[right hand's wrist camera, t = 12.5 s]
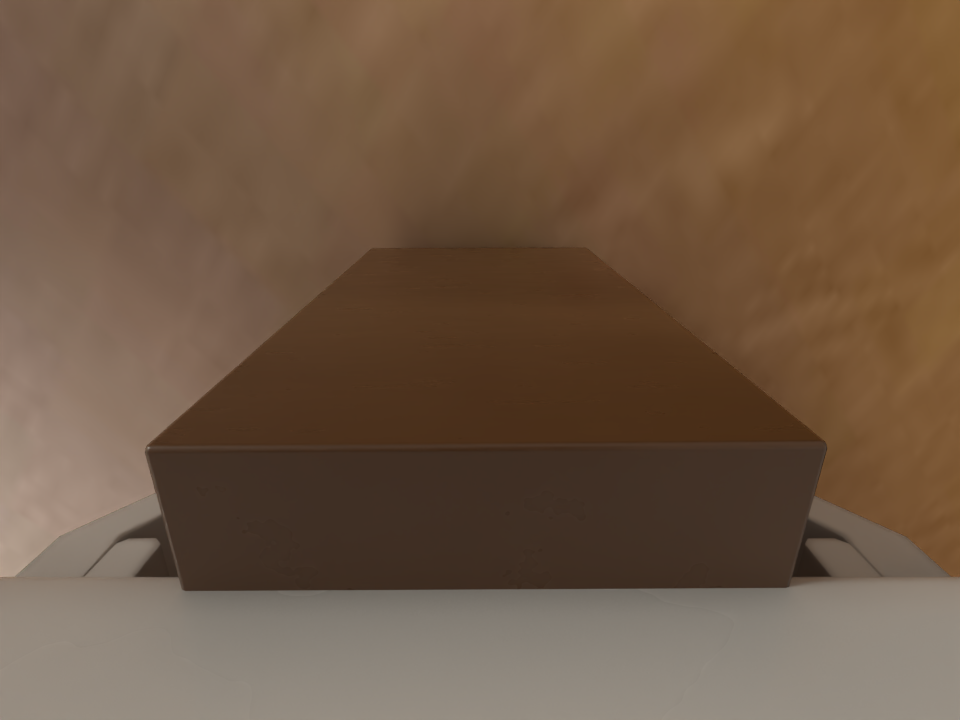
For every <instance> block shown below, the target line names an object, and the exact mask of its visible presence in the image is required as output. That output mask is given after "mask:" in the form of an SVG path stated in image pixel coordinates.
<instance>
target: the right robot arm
mask: <svg viewBox="0 0 960 720" xmlns="http://www.w3.org/2000/svg"><path fill="white" fill-rule="evenodd" d="M0 720H960V577H951V576H949V575H948V574H947V573H946V572H945V571H944V570H943V569H942V568H941V567H939V566H938V565H937V564H936V563H935V562H934V561H933V560H932V559H931V558H929V557H928V556H927V555H926V554H925V553H924V552H923V551H922V550H921V549H919V548H918V547H917V546H916V545H915V544H914V543H913V542H912V541H910V540H909V539H908V538H907V537H905V536H903V535H901V534H899V533H897V532H894V531H892V530H890V529H888V528H885V527H883V526H881V525H879V524H877V523H874V522H872V521H870V520H868V519H865V518H863V517H861V516H859V515H856V514H854V513H852V512H850V511H848V510H845V509H843V508H841V507H839V506H836V505H834V504H832V503H830V502H828V501H825V500H823V499H821V498H819V497H816V496H814V498H813V502H812V505H811V509H810V513H809V516H808V520H807V524H806V527H805V531H804V535H803V538H802V542H801V546H800V549H799V553H798V557H797V560H796V564H795V568H794V571H793V575H792V579H791V582H790V586H789V587H787V588H673V589H483V590H290V591H184V590H182V588H181V585H180V581H179V577H178V573H177V570H176V566H175V562H174V559H173V555H172V551H171V547H170V544H169V540H168V536H167V532H166V529H165V525H164V521H163V518H162V514H161V510H160V506H159V503H158V499H157V495H156V493H155V494H152V495H150V496H148V497H146V498H144V499H141V500H139V501H137V502H135V503H132V504H130V505H128V506H126V507H124V508H121V509H119V510H117V511H115V512H112V513H110V514H108V515H106V516H104V517H101V518H99V519H97V520H95V521H93V522H90V523H88V524H86V525H84V526H81V527H79V528H77V529H75V530H73V531H70V532H68V533H66V534H64V535H61V536H59V537H58V538H57V539H56V540H55V541H54V542H53V543H52V544H51V545H50V546H48V547H47V548H46V549H45V550H44V551H43V552H42V553H41V554H40V555H38V556H37V557H36V558H35V559H34V560H33V561H32V562H31V563H30V564H28V565H27V566H26V567H25V568H24V569H23V570H22V571H21V572H20V573H18V574H17V575H16V576H15V577H0Z"/></svg>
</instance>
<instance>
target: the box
mask: <svg viewBox="0 0 960 720" xmlns="http://www.w3.org/2000/svg"><path fill="white" fill-rule="evenodd" d="M826 450H827V446H826V443H825V441H824V440H822V439H821V438H820V437H819V436H817V435H816V434H815V433H814V432H813V431H811V430H810V429H809V428H808V427H806V426H805V425H804V424H803V423H801V422H800V421H799V420H798V419H797V418H795V417H794V416H793V415H792V414H790V413H789V412H788V411H787V410H785V409H784V408H783V407H782V406H781V405H779V404H778V403H777V402H776V401H774V400H773V399H772V398H771V397H769V396H768V395H767V394H766V393H764V392H763V391H762V390H761V389H760V388H758V387H757V386H756V385H755V384H753V383H752V382H751V381H750V380H748V379H747V378H746V377H745V376H744V375H742V374H741V373H740V372H739V371H737V370H736V369H735V368H734V367H732V366H731V365H730V364H729V363H728V362H726V361H725V360H724V359H723V358H721V357H720V356H719V355H718V354H716V353H715V352H714V351H713V350H712V349H710V348H709V347H708V346H707V345H705V344H704V343H703V342H702V341H700V340H699V339H698V338H697V337H696V336H694V335H693V334H692V333H691V332H689V331H688V330H687V329H686V328H684V327H683V326H682V325H681V324H679V323H678V322H677V321H676V320H675V319H673V318H672V317H671V316H670V315H668V314H667V313H666V312H665V311H663V310H662V309H661V308H660V307H659V306H657V305H656V304H655V303H654V302H652V301H651V300H650V299H649V298H647V297H646V296H645V295H644V294H643V293H641V292H640V291H639V290H638V289H636V288H635V287H634V286H633V285H631V284H630V283H629V282H628V281H627V280H625V279H624V278H623V277H622V276H620V275H619V274H618V273H617V272H615V271H614V270H613V269H612V268H611V267H609V266H608V265H607V264H606V263H604V262H603V261H602V260H601V259H599V258H598V257H597V256H596V255H594V254H593V253H592V252H591V251H590V250H588V249H587V248H372V249H371V250H370V251H368V252H367V253H366V254H365V255H364V256H363V257H362V258H360V259H359V260H358V261H357V262H356V263H355V264H354V265H352V266H351V267H350V268H349V269H348V270H347V271H346V272H344V273H343V274H342V275H341V276H340V277H339V278H338V279H336V280H335V281H334V282H333V283H332V284H331V285H330V286H328V287H327V288H326V289H325V290H324V291H323V292H322V293H320V294H319V295H318V296H317V297H316V298H315V299H314V300H312V301H311V302H310V303H309V304H308V305H307V306H306V307H304V308H303V309H302V310H301V311H300V312H299V313H298V314H296V315H295V316H294V317H293V318H292V319H291V320H290V321H288V322H287V323H286V324H285V325H284V326H283V327H282V328H280V329H279V330H278V331H277V332H276V333H275V334H274V335H272V336H271V337H270V338H269V339H268V340H267V341H266V342H264V343H263V344H262V345H261V346H260V347H259V348H258V349H256V350H255V351H254V352H253V353H252V354H251V355H250V356H248V357H247V358H246V359H245V360H244V361H243V362H242V363H240V364H239V365H238V366H237V367H236V368H235V369H234V370H233V371H231V372H230V373H229V374H228V375H227V376H226V377H225V378H223V379H222V380H221V381H220V382H219V383H218V384H217V385H215V386H214V387H213V388H212V389H211V390H210V391H209V392H207V393H206V394H205V395H204V396H203V397H202V398H201V399H199V400H198V401H197V402H196V403H195V404H194V405H193V406H191V407H190V408H189V409H188V410H187V411H186V412H185V413H183V414H182V415H181V416H180V417H179V418H178V419H177V420H175V421H174V422H173V423H172V424H171V425H170V426H169V427H167V428H166V429H165V430H164V431H163V432H162V433H161V434H159V435H158V436H157V437H156V438H155V439H154V440H153V441H151V442H150V443H149V444H148V445H147V447H146V450H145V454H146V458H147V462H148V465H149V469H150V473H151V477H152V480H153V484H154V488H155V491H156V495H157V499H158V503H159V506H160V510H161V514H162V518H163V521H164V525H165V529H166V532H167V536H168V540H169V544H170V547H171V551H172V555H173V559H174V562H175V566H176V570H177V573H178V577H179V581H180V585H181V588H182V590H184V591H290V590H483V589H673V588H787V587H789V586H790V582H791V579H792V575H793V571H794V568H795V564H796V560H797V557H798V553H799V549H800V546H801V542H802V538H803V535H804V531H805V527H806V524H807V520H808V516H809V513H810V509H811V505H812V502H813V498H814V494H815V491H816V487H817V483H818V480H819V476H820V472H821V469H822V465H823V461H824V458H825V454H826Z"/></svg>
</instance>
